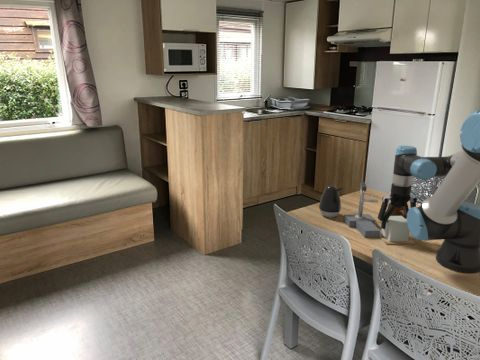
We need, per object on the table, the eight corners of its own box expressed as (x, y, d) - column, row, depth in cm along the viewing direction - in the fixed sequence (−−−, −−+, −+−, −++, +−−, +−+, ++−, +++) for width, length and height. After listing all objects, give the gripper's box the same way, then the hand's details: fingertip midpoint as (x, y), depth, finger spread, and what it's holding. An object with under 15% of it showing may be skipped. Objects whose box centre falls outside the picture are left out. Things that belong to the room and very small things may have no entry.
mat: (415, 244, 156) (415, 243, 156) (386, 244, 155) (387, 244, 155) (401, 231, 167) (401, 231, 167) (374, 232, 166) (374, 231, 166)
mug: (411, 231, 168) (414, 211, 165) (395, 232, 167) (398, 212, 164) (398, 221, 179) (400, 202, 176) (382, 221, 178) (385, 202, 176)
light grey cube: (408, 241, 157) (410, 223, 155) (389, 241, 157) (391, 223, 154) (398, 232, 165) (401, 215, 163) (381, 233, 164) (383, 216, 162)
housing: (385, 236, 162) (386, 229, 161) (358, 237, 161) (359, 229, 160) (368, 220, 180) (369, 212, 179) (343, 220, 179) (344, 213, 178)
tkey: (374, 214, 177) (378, 182, 172) (377, 220, 169) (381, 188, 165) (357, 212, 178) (360, 181, 174) (358, 219, 171) (362, 186, 166)
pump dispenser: (342, 219, 180) (345, 189, 175) (320, 219, 180) (322, 188, 176) (337, 211, 190) (340, 182, 185) (316, 211, 190) (319, 182, 185)
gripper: (421, 181, 158) (414, 231, 165) (372, 181, 157) (366, 232, 163) (431, 186, 151) (423, 238, 158) (380, 187, 150) (374, 239, 156)
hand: (394, 235), depth 161 cm, fingers open, 8 cm apart
